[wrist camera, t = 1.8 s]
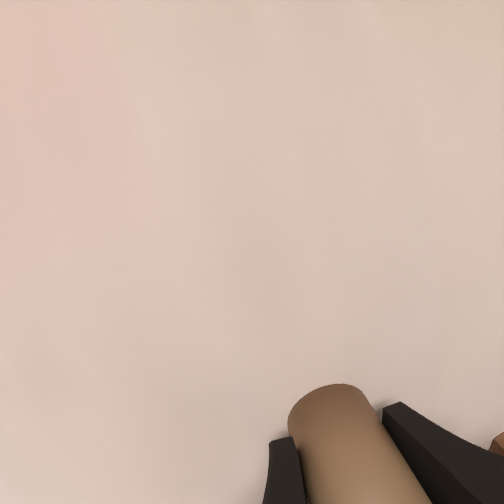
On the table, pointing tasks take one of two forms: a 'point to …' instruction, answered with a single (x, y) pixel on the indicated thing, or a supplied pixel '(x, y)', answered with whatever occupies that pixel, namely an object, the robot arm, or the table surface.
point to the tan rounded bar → (349, 451)
